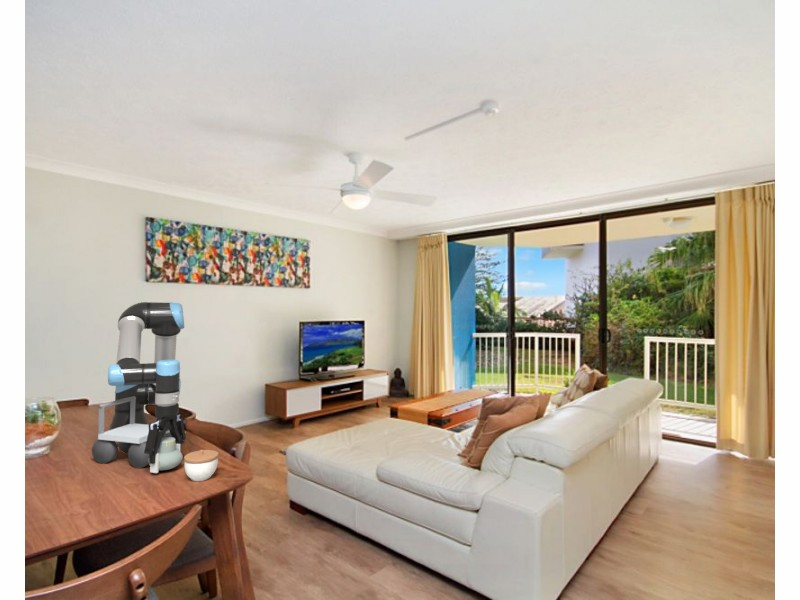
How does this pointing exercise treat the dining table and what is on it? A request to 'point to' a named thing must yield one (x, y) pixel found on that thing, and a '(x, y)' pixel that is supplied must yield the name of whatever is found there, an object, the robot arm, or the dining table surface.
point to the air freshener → (168, 454)
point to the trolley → (122, 438)
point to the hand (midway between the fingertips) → (165, 466)
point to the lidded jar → (201, 464)
